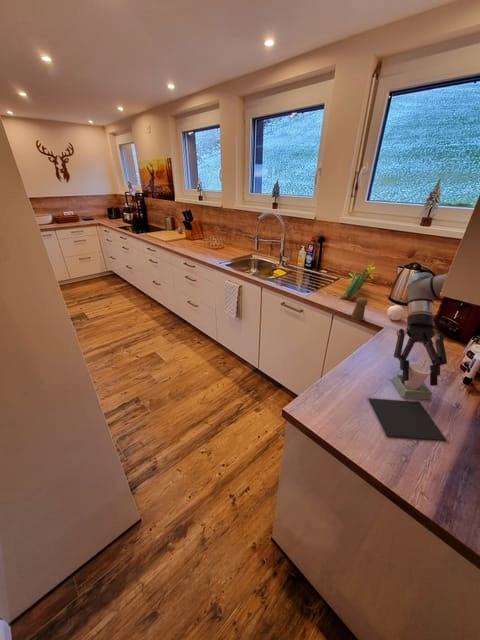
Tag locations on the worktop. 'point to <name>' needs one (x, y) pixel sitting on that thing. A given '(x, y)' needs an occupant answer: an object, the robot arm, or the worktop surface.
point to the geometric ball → (395, 312)
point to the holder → (405, 393)
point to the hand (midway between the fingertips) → (419, 382)
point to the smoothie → (417, 375)
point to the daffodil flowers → (358, 282)
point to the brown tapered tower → (359, 309)
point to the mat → (405, 419)
